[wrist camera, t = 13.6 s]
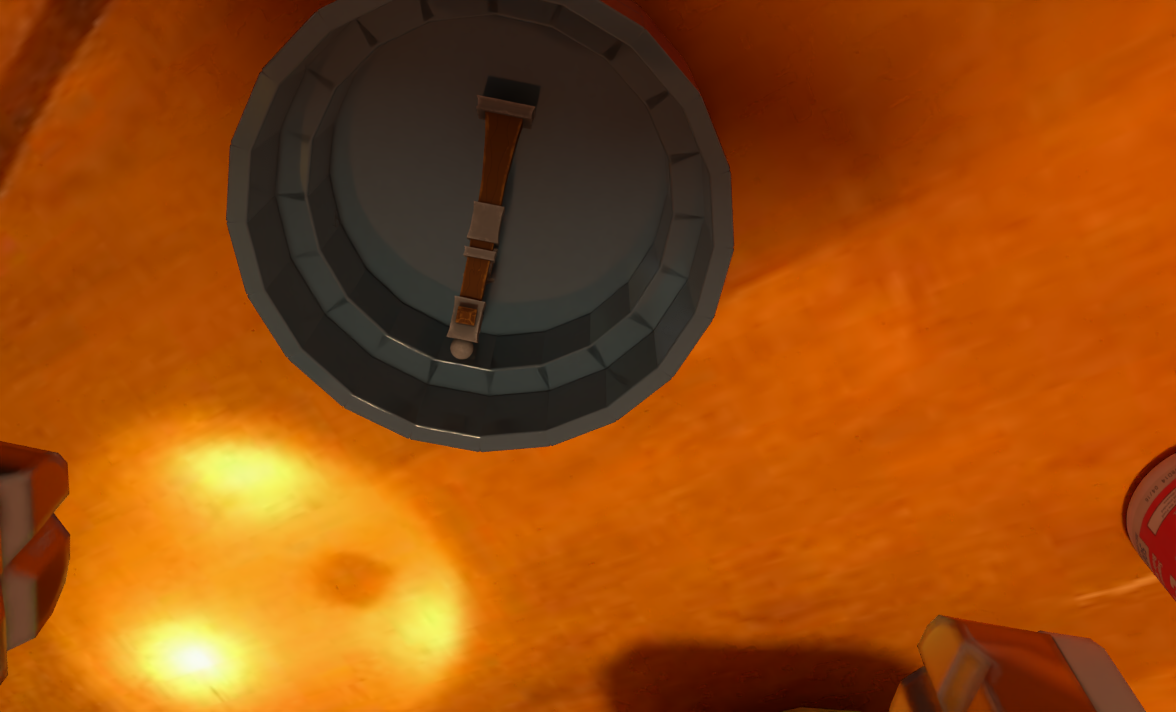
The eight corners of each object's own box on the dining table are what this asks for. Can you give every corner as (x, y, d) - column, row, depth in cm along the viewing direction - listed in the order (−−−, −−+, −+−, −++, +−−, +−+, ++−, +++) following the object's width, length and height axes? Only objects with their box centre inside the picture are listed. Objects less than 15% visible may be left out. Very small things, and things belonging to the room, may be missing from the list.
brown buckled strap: (440, 349, 34) (428, 354, 30) (482, 122, 34) (476, 92, 30) (491, 359, 34) (487, 365, 30) (533, 132, 34) (536, 105, 30)
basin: (274, 324, 36) (215, 404, 30) (306, -98, 30) (241, -92, 24) (655, 398, 37) (664, 487, 31) (763, 5, 31) (797, 32, 25)
